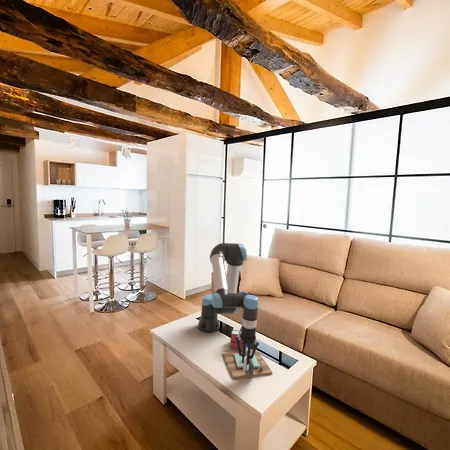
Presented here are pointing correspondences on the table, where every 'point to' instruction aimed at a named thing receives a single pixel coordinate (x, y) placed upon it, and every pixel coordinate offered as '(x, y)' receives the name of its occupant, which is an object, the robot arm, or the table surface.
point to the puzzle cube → (233, 342)
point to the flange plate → (252, 364)
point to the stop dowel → (261, 365)
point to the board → (239, 372)
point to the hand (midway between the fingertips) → (245, 369)
